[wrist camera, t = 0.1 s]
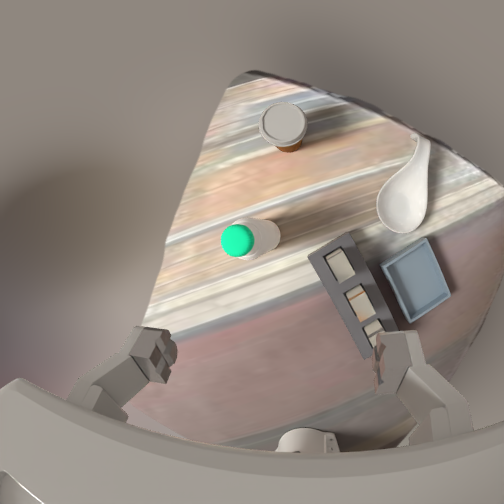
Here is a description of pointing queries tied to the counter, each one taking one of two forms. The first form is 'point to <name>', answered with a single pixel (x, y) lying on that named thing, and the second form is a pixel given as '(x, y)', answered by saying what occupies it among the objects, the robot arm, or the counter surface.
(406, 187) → the spoon rest
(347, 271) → the block
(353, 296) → the orange cap fuse
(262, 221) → the water bottle
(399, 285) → the tray
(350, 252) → the fuse strip
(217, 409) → the counter surface
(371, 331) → the block
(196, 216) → the counter surface
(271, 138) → the disposable coffee cup
